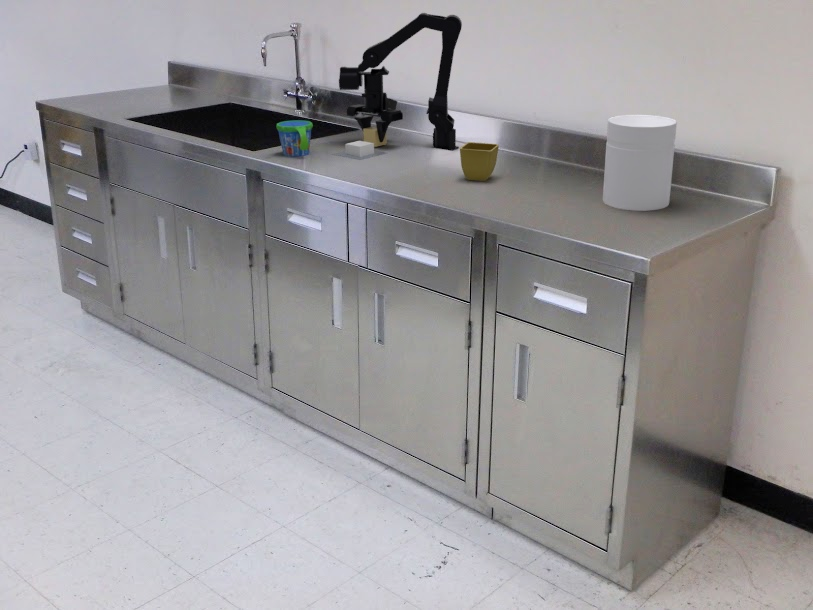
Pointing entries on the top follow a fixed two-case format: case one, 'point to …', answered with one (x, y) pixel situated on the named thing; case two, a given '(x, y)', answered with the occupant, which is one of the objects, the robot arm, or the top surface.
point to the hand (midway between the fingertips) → (375, 141)
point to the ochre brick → (373, 136)
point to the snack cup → (295, 137)
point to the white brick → (359, 148)
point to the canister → (639, 162)
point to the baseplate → (343, 154)
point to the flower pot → (478, 160)
